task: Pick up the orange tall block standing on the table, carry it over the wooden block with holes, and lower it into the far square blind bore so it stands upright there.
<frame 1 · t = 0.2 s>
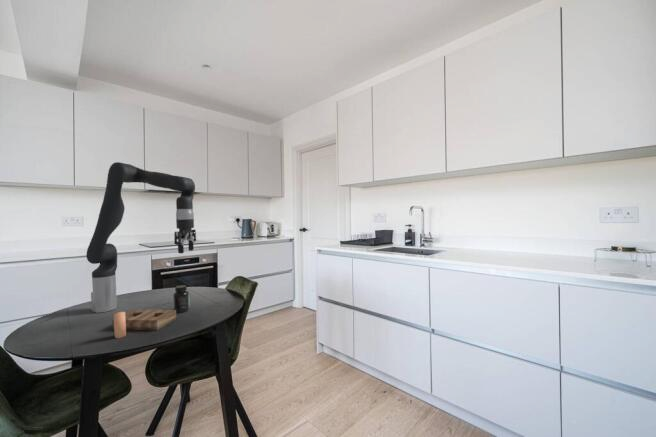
hand: (186, 251, 134), 29 cm above the table, fingers open, 8 cm apart
wooden block with holes: (145, 323, 121), on the table
supplement bottle: (181, 311, 136), on the table
orange tall block: (120, 336, 109), on the table
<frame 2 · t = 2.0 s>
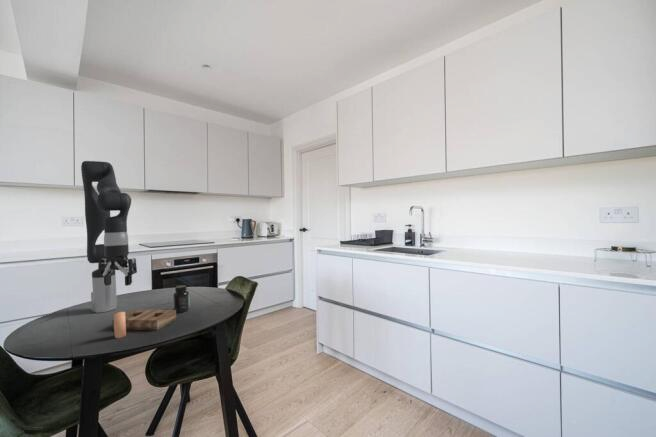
hand: (118, 285, 108), 20 cm above the table, fingers open, 8 cm apart
nothing on the table moved.
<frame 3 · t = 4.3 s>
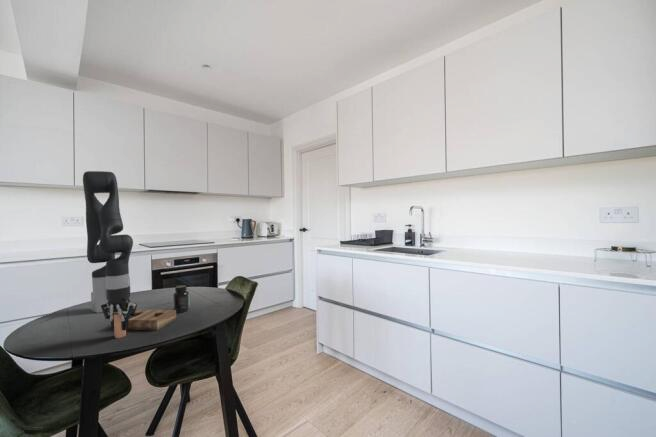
hand: (120, 329, 109), 3 cm above the table, fingers closed on orange tall block, 3 cm apart
orange tall block: (120, 336, 109), on the table, touching gripper
everything else where it was.
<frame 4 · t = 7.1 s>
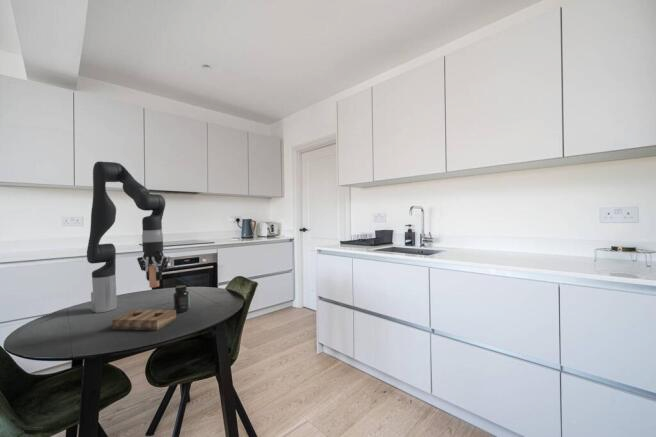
hand: (154, 280, 120), 19 cm above the table, fingers closed on orange tall block, 3 cm apart
orange tall block: (154, 286, 120), point 16 cm above the table, touching gripper
everything else where it was.
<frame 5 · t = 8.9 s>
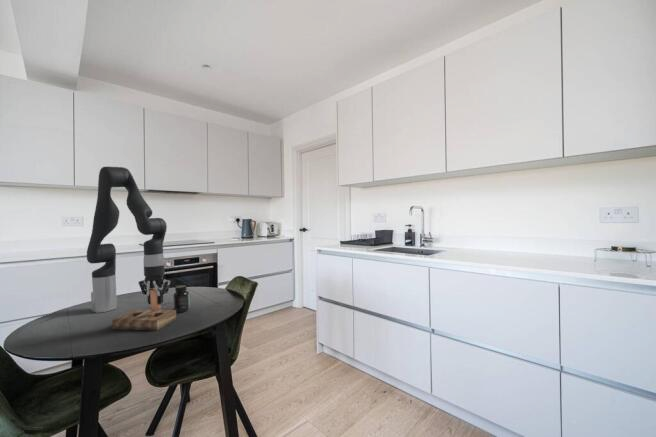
hand: (155, 303, 120), 9 cm above the table, fingers closed on orange tall block, 3 cm apart
orange tall block: (155, 309, 120), point 6 cm above the table, touching gripper
everything else where it was.
when the fingers open (5 cm above the table, at t = 10.2 s): orange tall block drops 1 cm, resting on wooden block with holes.
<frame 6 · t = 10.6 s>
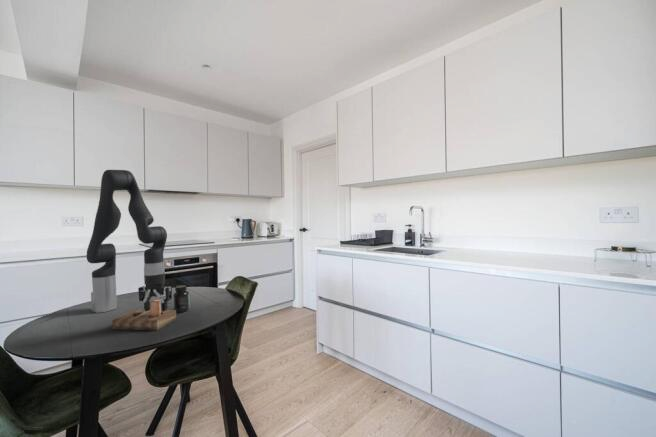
hand: (156, 310, 120), 6 cm above the table, fingers open, 7 cm apart
orange tall block: (156, 321, 120), point 1 cm above the table, touching wooden block with holes
everything else where it was.
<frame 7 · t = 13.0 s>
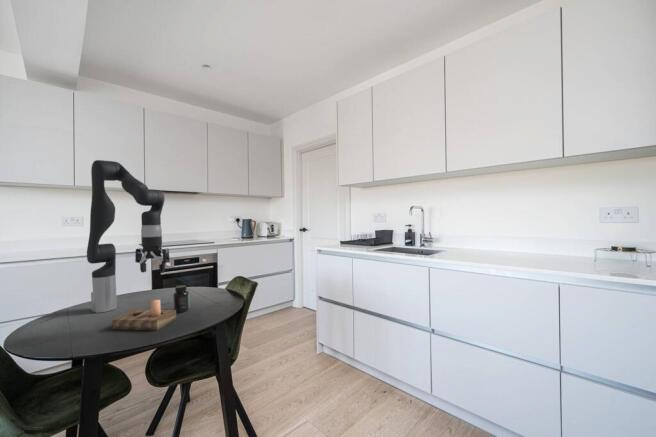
hand: (152, 272, 121), 22 cm above the table, fingers open, 8 cm apart
nothing on the table moved.
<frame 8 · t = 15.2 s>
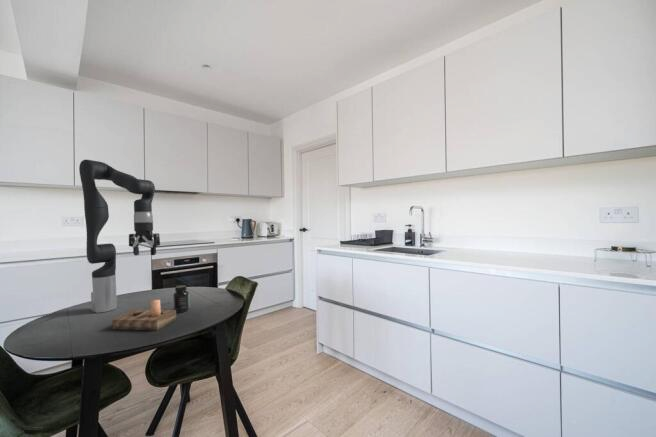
hand: (144, 255, 133), 28 cm above the table, fingers open, 8 cm apart
nothing on the table moved.
at the end: orange tall block 0.2 cm from the target spot on the wooden block with holes, point 1.0 cm above the wooden block with holes's base; orange tall block tilted 1°; the gripper is holding nothing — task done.
